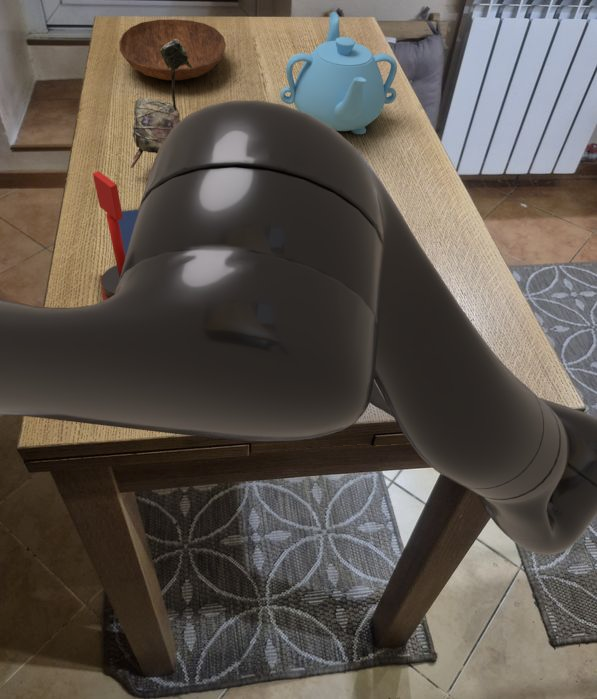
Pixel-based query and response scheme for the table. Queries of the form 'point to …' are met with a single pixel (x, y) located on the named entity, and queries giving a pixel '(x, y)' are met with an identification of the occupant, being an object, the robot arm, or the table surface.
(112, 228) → the red paddle on stand
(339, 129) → the teapot
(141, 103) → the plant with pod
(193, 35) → the bowl
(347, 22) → the table surface
